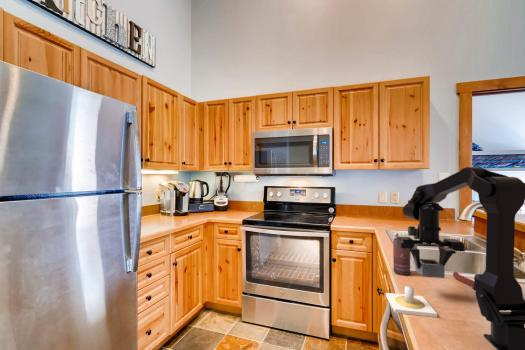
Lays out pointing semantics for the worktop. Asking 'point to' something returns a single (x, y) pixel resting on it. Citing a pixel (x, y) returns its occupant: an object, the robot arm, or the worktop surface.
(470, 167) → the robot arm
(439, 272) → the grey hollow square box
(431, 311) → the post base
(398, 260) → the can
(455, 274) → the pliers
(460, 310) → the worktop surface
